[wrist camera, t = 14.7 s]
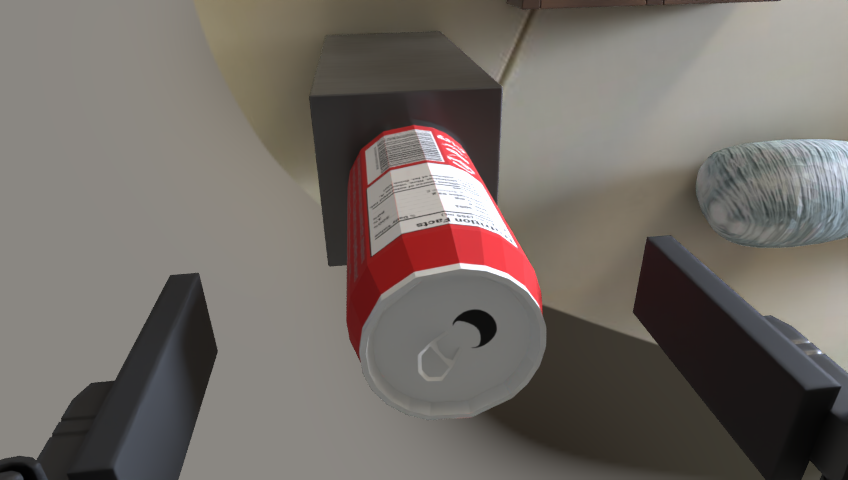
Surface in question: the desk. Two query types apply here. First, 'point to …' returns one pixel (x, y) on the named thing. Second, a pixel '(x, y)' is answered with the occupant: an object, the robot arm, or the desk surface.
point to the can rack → (609, 3)
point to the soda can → (436, 280)
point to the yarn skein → (777, 192)
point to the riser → (396, 109)
